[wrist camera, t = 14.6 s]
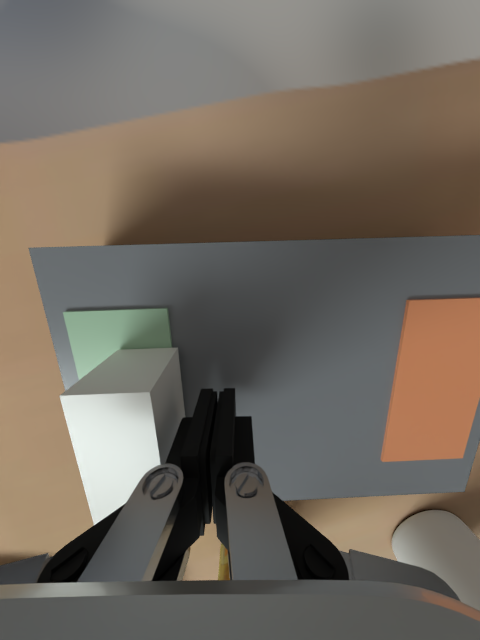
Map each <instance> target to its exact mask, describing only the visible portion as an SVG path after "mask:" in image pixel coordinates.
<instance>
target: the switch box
mask: <svg viewBox="0 0 480 640" xmlns="http://www.w3.org/2000/svg"><path fill="white" fill-rule="evenodd" d="M29 252H30V256H31V260H32V263H33V267H34V271H35V275H36V279H37V283H38V287H39V290H40V294H41V298H42V302H43V306H44V310H45V314H46V318H47V321H48V325H49V329H50V333H51V337H52V341H53V345H54V349H55V352H56V356H57V360H58V364H59V368H60V372H61V376H62V380H63V383H64V387H65V391H66V390H68V389H69V388H70V387H71V386H73V385H74V384H75V383H76V382H78V381H79V380H80V379H82V378H83V377H84V376H85V375H87V374H88V373H89V372H90V371H92V370H93V369H94V368H95V367H97V366H98V365H99V364H101V363H102V362H103V361H104V360H106V359H107V358H108V357H109V356H111V355H112V354H113V353H114V352H116V351H117V350H123V349H150V348H177V347H178V353H179V363H180V372H181V381H182V391H183V400H184V409H185V417H193V414H194V410H195V407H196V404H197V401H198V397H199V394H200V391H201V389H208V388H213V391H217V397H218V398H219V392H220V391H224V388H235V399H236V416H251V417H252V430H253V443H254V457H255V464H256V465H258V466H260V467H261V468H262V469H263V470H264V471H265V473H266V475H267V477H268V480H269V483H270V487H271V490H272V492H273V493H274V494H275V495H276V496H278V497H279V498H280V499H281V500H282V501H288V500H308V499H328V498H348V497H368V496H388V495H408V494H428V493H449V492H464V491H465V488H466V485H467V481H468V478H469V475H470V471H471V468H472V464H473V461H474V458H475V454H476V451H477V448H478V444H479V441H480V235H465V236H430V237H395V238H359V239H324V240H289V241H253V242H218V243H183V244H147V245H112V246H77V247H41V248H29Z"/></svg>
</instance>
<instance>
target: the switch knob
mask: <svg viewBox="0 0 480 640" xmlns="http://www.w3.org/2000/svg"><path fill="white" fill-rule="evenodd" d="M60 399H61V403H62V407H63V411H64V414H65V418H66V422H67V426H68V429H69V433H70V437H71V440H72V444H73V448H74V452H75V455H76V459H77V463H78V467H79V470H80V474H81V478H82V482H83V485H84V489H85V493H86V497H87V500H88V504H89V508H90V512H91V515H92V519H93V523H94V525H95V524H97V523H98V522H100V521H101V520H103V519H104V518H105V517H107V516H108V515H110V514H111V513H112V512H114V511H115V510H117V509H118V508H120V507H121V506H122V505H124V504H125V503H126V502H127V501H128V499H129V497H130V496H131V494H132V492H133V491H134V489H135V488H136V486H137V484H138V483H139V481H140V480H141V478H142V477H143V476H144V475H145V473H147V472H148V471H149V470H150V469H152V468H154V467H156V466H158V465H161V464H165V462H166V460H167V457H168V454H169V452H170V449H171V446H172V444H173V441H174V438H175V436H176V433H177V430H178V427H179V425H180V422H181V420H182V418H183V417H185V409H184V400H183V391H182V381H181V372H180V363H179V353H178V347H177V348H150V349H123V350H117V351H116V352H114V353H113V354H112V355H111V356H109V357H108V358H107V359H106V360H104V361H103V362H102V363H101V364H99V365H98V366H97V367H95V368H94V369H93V370H92V371H90V372H89V373H88V374H87V375H85V376H84V377H83V378H82V379H80V380H79V381H78V382H76V383H75V384H74V385H73V386H71V387H70V388H69V389H68V390H66V391H65V392H64V393H62V394H61V395H60Z"/></svg>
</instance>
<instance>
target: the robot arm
mask: <svg viewBox="0 0 480 640" xmlns="http://www.w3.org/2000/svg"><path fill="white" fill-rule="evenodd" d="M212 506H213V520H214V524H216V527H217V537H218V539H219V540H220V541H221V543H222V544H223V545H224V546H225V548H226V549H227V550H228V565H229V577H230V580H206V581H182V579H183V576H184V572H185V569H186V565H187V562H188V559H189V554H190V546H191V545H192V544H193V543H194V542H195V541H196V540H197V539H198V538H199V536H204V529H205V524H210V522H211V515H212ZM0 640H480V611H479V610H477V609H475V608H473V607H471V606H469V605H467V604H465V603H463V602H461V601H460V599H459V598H458V596H457V594H456V593H455V592H454V591H453V590H452V589H451V588H450V586H449V585H448V584H447V583H446V582H445V581H444V580H442V579H441V578H440V577H438V576H437V575H436V574H434V573H433V572H431V571H429V570H426V569H424V568H422V567H418V566H414V565H410V564H406V563H402V562H398V561H394V560H391V559H387V558H383V557H379V556H375V555H371V554H367V553H363V552H359V551H356V550H352V549H349V553H346V552H342V551H339V550H338V549H337V548H336V547H335V546H334V545H333V543H332V542H331V541H329V540H328V539H327V538H326V537H325V536H324V535H322V534H321V533H320V532H319V531H318V530H316V529H315V528H314V527H313V526H312V525H311V524H309V523H308V522H307V521H306V520H305V519H303V518H302V517H301V516H300V515H299V514H298V513H296V512H295V511H294V510H293V509H292V508H291V507H289V506H288V505H287V504H286V503H285V502H283V501H282V500H281V499H280V498H279V497H278V496H276V495H275V494H274V493H273V492H272V490H271V487H270V483H269V480H268V477H267V475H266V473H265V471H264V470H263V469H262V468H261V467H260V466H258V465H256V464H255V457H254V443H253V430H252V417H251V416H236V399H235V388H224V391H220V392H219V398H218V397H217V391H213V388H208V389H201V391H200V394H199V397H198V401H197V404H196V407H195V410H194V414H193V417H183V418H182V420H181V422H180V425H179V427H178V430H177V433H176V436H175V438H174V441H173V444H172V446H171V449H170V452H169V454H168V457H167V460H166V462H165V464H161V465H158V466H156V467H154V468H152V469H150V470H149V471H148V472H147V473H145V475H144V476H143V477H142V478H141V480H140V481H139V483H138V484H137V486H136V488H135V489H134V491H133V492H132V494H131V496H130V497H129V499H128V501H127V502H126V503H125V504H124V505H122V506H121V507H120V508H118V509H117V510H115V511H114V512H112V513H111V514H110V515H108V516H107V517H105V518H104V519H103V520H101V521H100V522H98V523H97V524H95V525H94V526H93V527H91V528H90V529H88V530H87V531H85V532H84V533H83V534H81V535H80V536H78V537H77V538H75V539H74V540H73V541H71V542H70V543H68V544H67V545H66V546H64V547H63V548H62V549H61V550H59V551H58V552H57V553H56V554H55V555H54V556H52V557H49V555H48V553H46V554H43V555H39V556H35V557H31V558H28V559H24V560H20V561H16V562H13V563H9V564H5V565H1V566H0Z"/></svg>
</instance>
